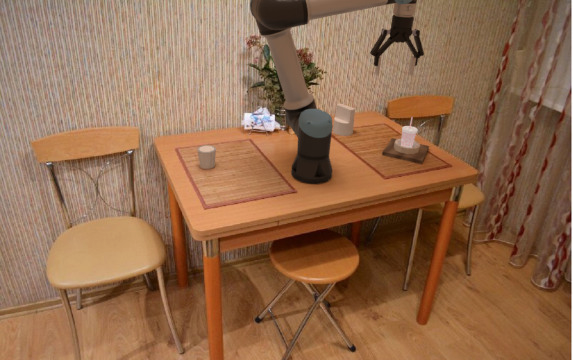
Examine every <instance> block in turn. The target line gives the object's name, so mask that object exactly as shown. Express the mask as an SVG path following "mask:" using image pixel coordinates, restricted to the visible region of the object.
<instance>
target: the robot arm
mask: <svg viewBox="0 0 573 360" xmlns="http://www.w3.org/2000/svg"><path fill="white" fill-rule="evenodd" d="M417 2H418V0H249V9H250V13H251V15H252V16H253V18H254V20H255V22H256V26H257V29H258V31H259V35H260V36H261V37H263V38H264V39H266V42H267V45H268V48H269V51H270V55H271V57H272V60H273V64H274V67H275V70H276V73H277V76H278V77H277V78H278V79H279V82H280V83H279V84H280V87H281V89H282V92H283V95H284V99H285V101H284V103H283V108H284V111H285V120H286V123H287V125H288V126H289V127H290V129H292V131H293V132H294V134H295V136H296V137H297V150H296V151H297V152H296V156H295V158H294V161H293V163H292V165H291V169H290V174H291V176H292V178H293V179H294V180H297V181H298V182H301V183H304V184H308V185H320V184H324V183H327V182H329V181H330V180H331V179H332V177H333V167H332V162H331V159H330V151H331V150H330V149H331V142H332V133H333V125H334V123H333V117H332V115H331V114H329V113H328V112H327V111H326V110H322V109H319V108H317V104H316V101H315V97H314V95H313V94H311V93H309V91H308V88H307V84H306V80H305V77H304V73H303V69H302V66H301V63H300V62H301V61H300V59H299V56H298V52H297V49H296V45H295V42H294V39H293V38H294V37H293V36H292V30H291V29H292V28H296V27H302V26H306V25H308V24H309V23H310V21H312V20H317V19H323V18H327V17H333V16H337V15H343V14H347V13H352V12H357V11H362V10H363V11H364V10H367V9H371V8H376V7H381V6H388V5H392V4H393V10H392V11H393V12H392V13H393V15H392V18H391V22H390V29H386V28H382V29H381V31H380V35H379V36H378V39H377V40H376V42H375V44H374V45H373V47H372V48H371V50H370V52H369V54H370V55H372V56H373V57H374V59H373V65H374V66H375V68H374V74H375V75H376V76H380V72H381V71H380V70H381V62H382V57H381V56H382V55H383V54H384V53H385V52H386V50H387V49H388V48H390V46H391V45H393V44H394V43H397V44H398V43H402V44H403V43H404V44H406V46H407V47H408V49H409V50H410V52H411V54H412V55H413V56H410V61H409V68H408V74H409V75H410V76H414V71H415V67H417V66H418V63H419V62H418V61H419V59H420V57H423V56H425V52H424V48H423V45H422V40H421V37H420V35H421V32H420V30H419V29H417V28H414V29H413V25H414V18H415V17H414V15H415V14H416V8H417ZM388 35H389V37H388V38H386V37H387V36H388ZM411 36H413V38H414V42H415V46H414V44H413V42H412V40H411V38H410V37H411ZM385 39H387V40H386V41H385ZM384 41H385V42H384Z"/></svg>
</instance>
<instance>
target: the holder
mask: <svg viewBox="0 0 573 360" xmlns="http://www.w3.org/2000/svg"><path fill="white" fill-rule="evenodd" d="M397 139H398V138H393V137H392V138H391V139H390V140H389V141H388V143H387V144H386V146H385V148H384V149H383V150H382V156H385V157H387V158H388V157H389V158H393V159H398V160H402V161H407V162H411V163H415V164H421V165H422V164H423V162H424V161H425V157H426V155H427V153H428V151H429V149H430V145H426V144H421V143H419V144H420V149H419V152H418V153H415V154H405V153H400V152H398V151H396V150H395V148H394V143H395V141H396V140H397Z"/></svg>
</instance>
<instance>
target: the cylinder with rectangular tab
mask: <svg viewBox="0 0 573 360" xmlns="http://www.w3.org/2000/svg"><path fill="white" fill-rule="evenodd" d="M355 113H356V108H354V107H352V106H349V105H346V104H343V103H337V104H336V105H335V115H334V118H333V128H332V133H333V134H335V135H337V136H343V137H347V136H348V137H349V136H352V135H353V133H354V126H355Z"/></svg>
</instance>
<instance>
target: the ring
mask: <svg viewBox="0 0 573 360" xmlns="http://www.w3.org/2000/svg"><path fill="white" fill-rule="evenodd" d="M401 138H402V137H401ZM401 138H396V139H397V140H396V141H395V143H394V148H395V150H396V151H398V152H400V153H405V154H415V153H418V152H419V149H420V144H421V143H420V142H418V141H417V140H415V139H414V143H413V146H412V147H404V146H401Z"/></svg>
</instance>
